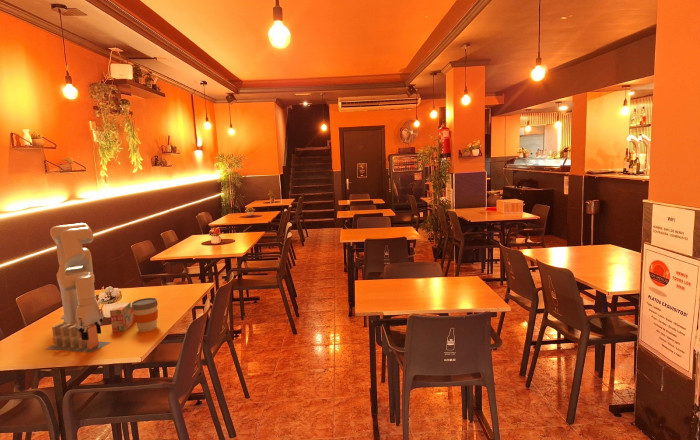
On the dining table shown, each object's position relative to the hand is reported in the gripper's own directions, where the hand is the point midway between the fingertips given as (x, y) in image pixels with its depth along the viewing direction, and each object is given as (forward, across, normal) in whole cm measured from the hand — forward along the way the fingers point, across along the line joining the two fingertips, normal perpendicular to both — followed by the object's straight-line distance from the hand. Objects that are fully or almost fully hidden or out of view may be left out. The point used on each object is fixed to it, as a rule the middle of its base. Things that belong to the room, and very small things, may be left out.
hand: (91, 336), depth 223 cm
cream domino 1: (+5, 0, -20) cm, 21 cm away
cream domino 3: (+5, 0, -10) cm, 11 cm away
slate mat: (+6, 0, -9) cm, 11 cm away
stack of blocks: (+6, -30, -7) cm, 31 cm away
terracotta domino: (+5, 0, 0) cm, 5 cm away
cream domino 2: (+5, 0, -15) cm, 16 cm away
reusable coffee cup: (+6, -26, +10) cm, 28 cm away
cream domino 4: (+5, 0, -5) cm, 7 cm away
